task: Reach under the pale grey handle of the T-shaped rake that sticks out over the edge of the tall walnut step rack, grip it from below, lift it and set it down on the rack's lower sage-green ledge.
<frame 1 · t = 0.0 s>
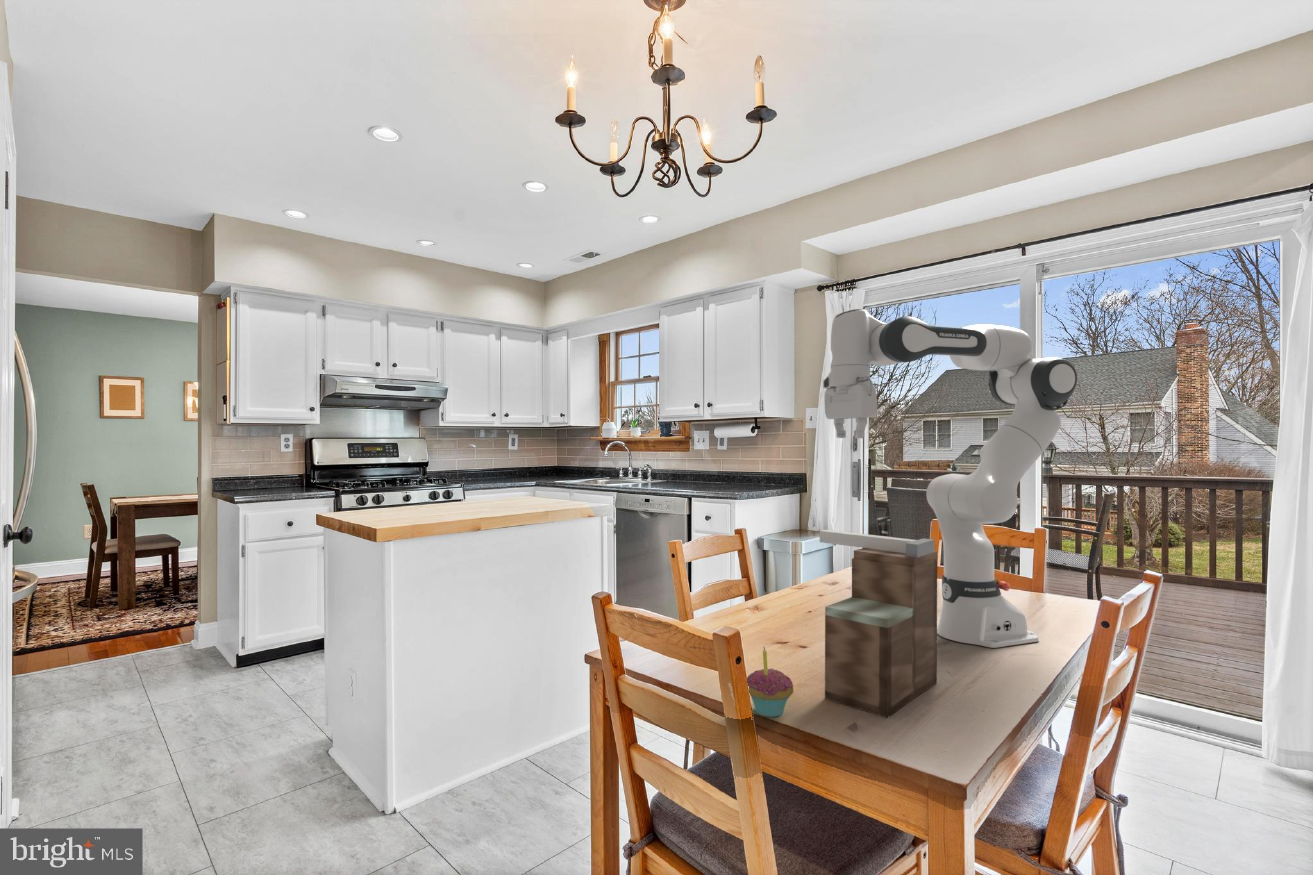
hand: (849, 438, 155), 48 cm above the table, tool pointing down, fingers open, 8 cm apart
step rack: (882, 690, 126), on the table
cupcake: (768, 712, 117), on the table
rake: (866, 547, 134), point 26 cm above the table, touching step rack
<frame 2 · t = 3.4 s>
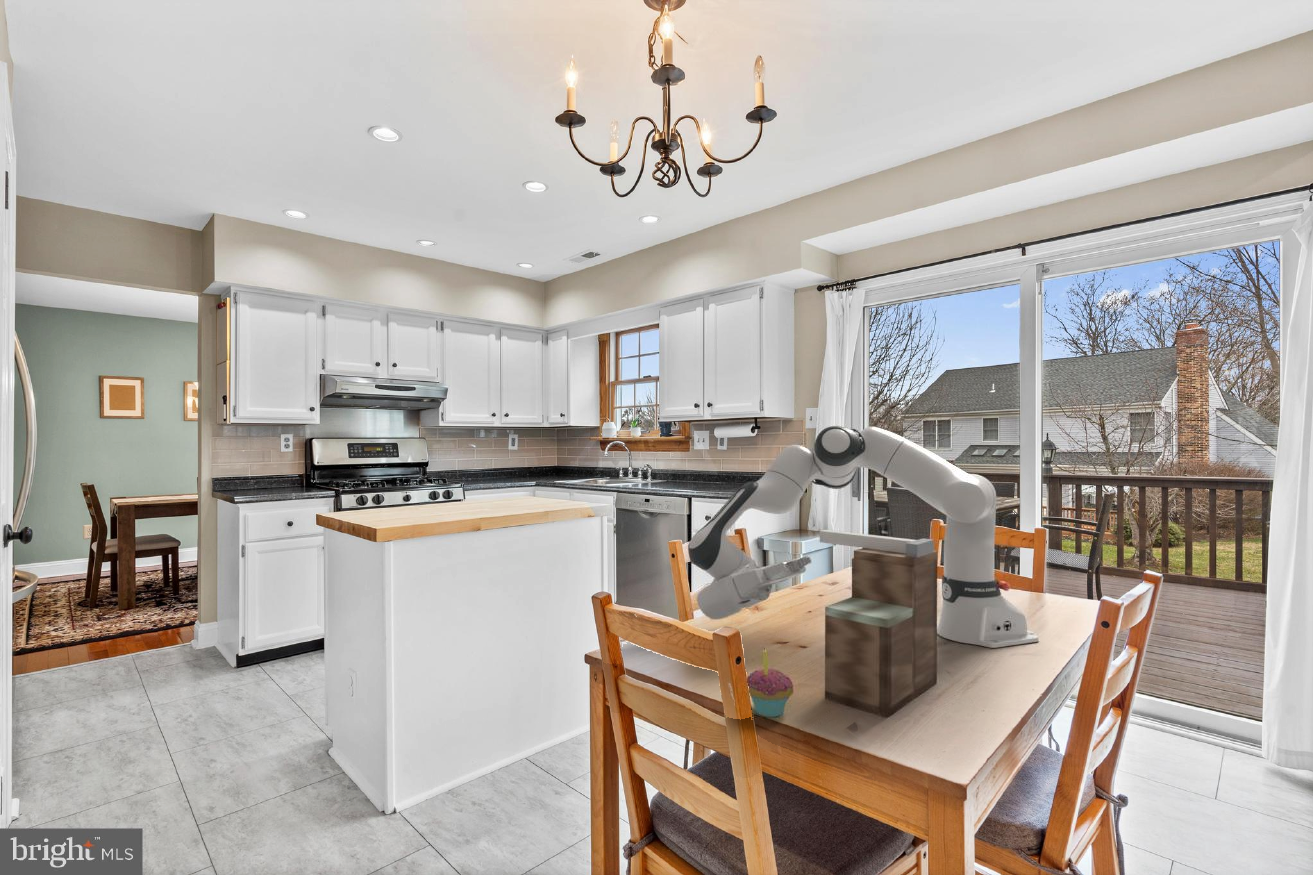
hand: (797, 562, 145), 21 cm above the table, tool pointing upward, fingers open, 8 cm apart
nothing on the table moved.
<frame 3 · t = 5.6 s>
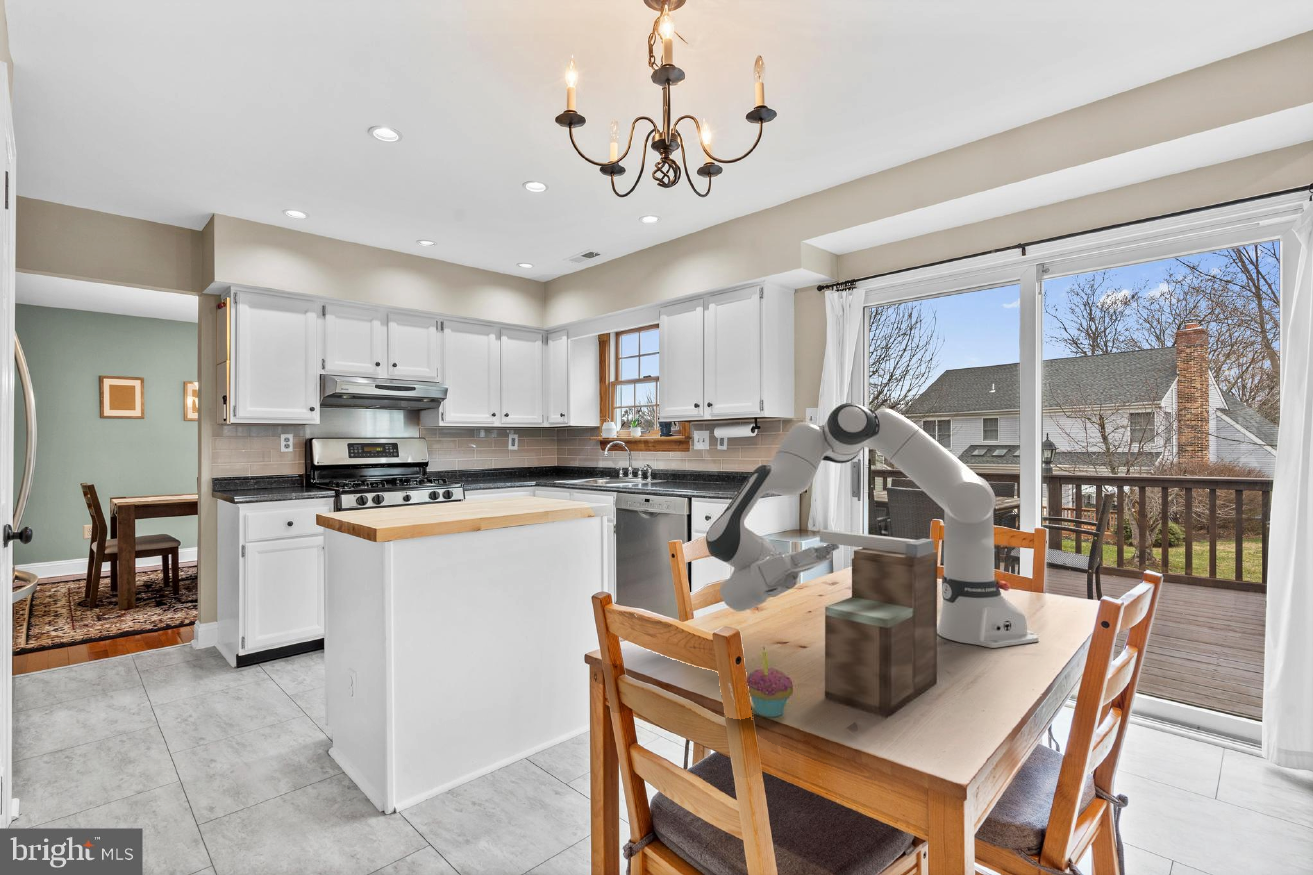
hand: (825, 547, 140), 25 cm above the table, tool pointing upward, fingers open, 8 cm apart
nothing on the table moved.
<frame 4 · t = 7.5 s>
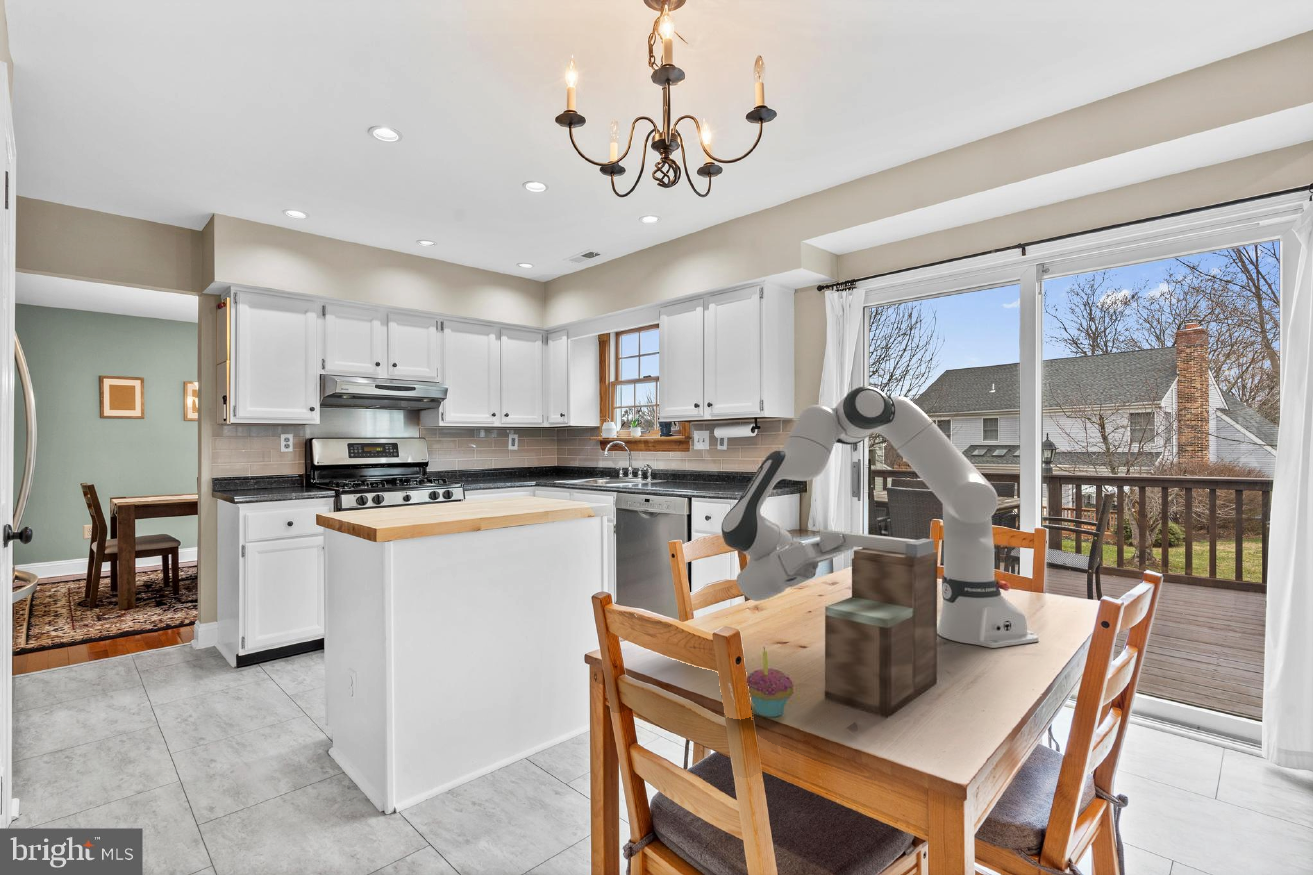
hand: (847, 536, 137), 28 cm above the table, tool pointing upward, fingers closed on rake, 2 cm apart
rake: (866, 547, 134), point 26 cm above the table, touching gripper, step rack
everything else where it was.
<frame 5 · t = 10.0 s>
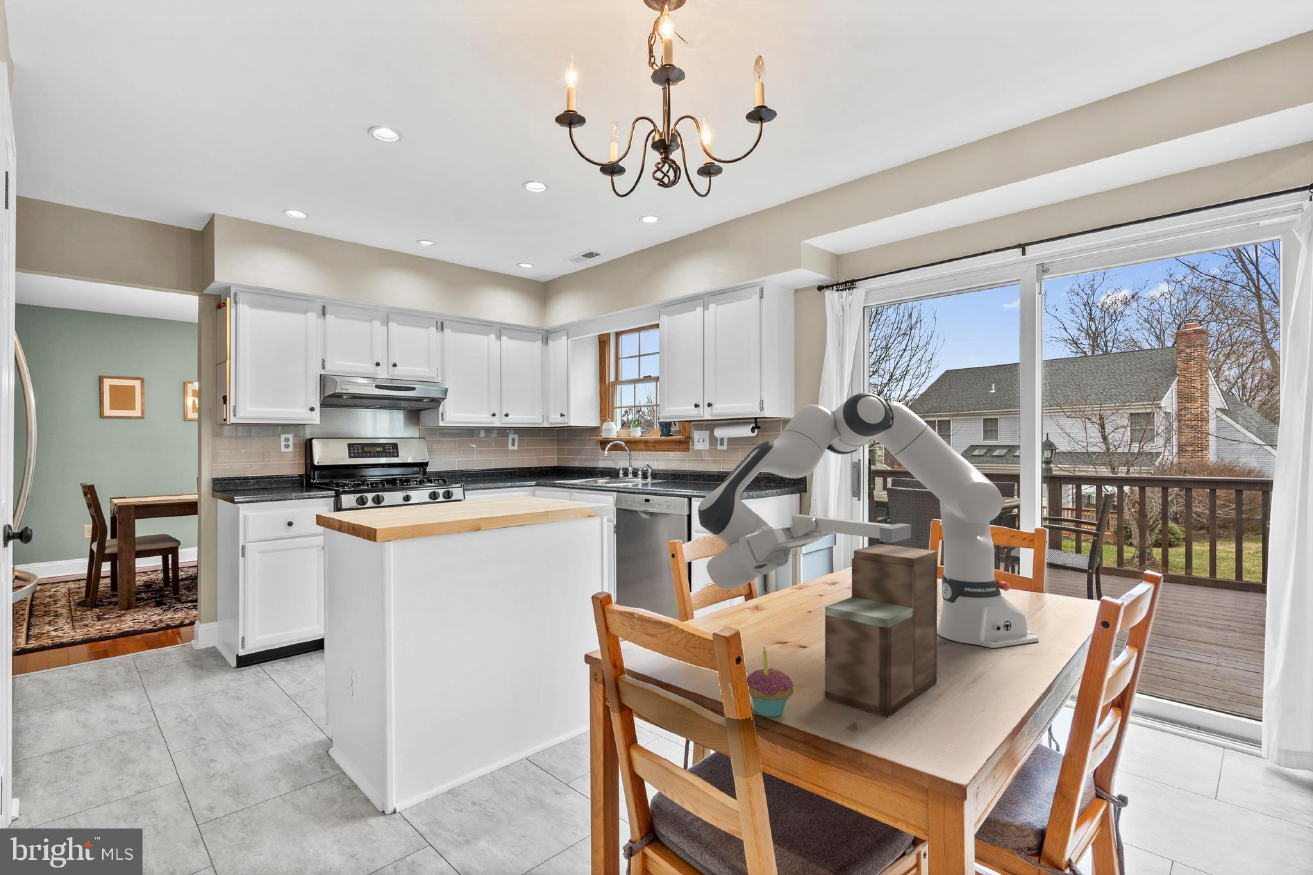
hand: (820, 521, 129), 32 cm above the table, tool pointing upward, fingers closed on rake, 2 cm apart
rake: (840, 532, 126), point 30 cm above the table, touching gripper
everything else where it was.
when the fingers open (20 cm above the table, at t = 12.6 s): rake drops 1 cm, resting on step rack.
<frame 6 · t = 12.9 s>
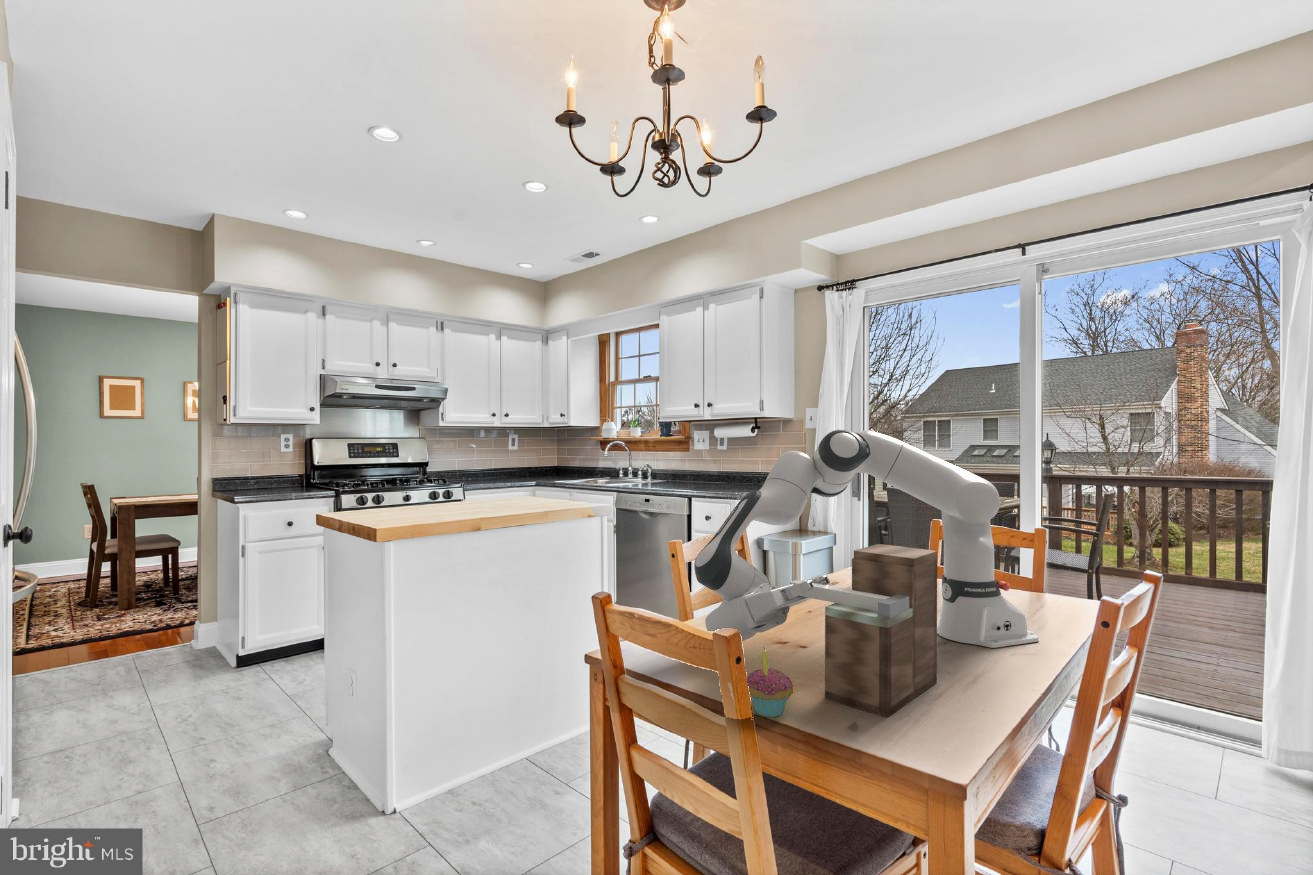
hand: (818, 581, 129), 20 cm above the table, tool pointing upward, fingers open, 5 cm apart
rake: (838, 601, 126), point 17 cm above the table, touching step rack
everything else where it was.
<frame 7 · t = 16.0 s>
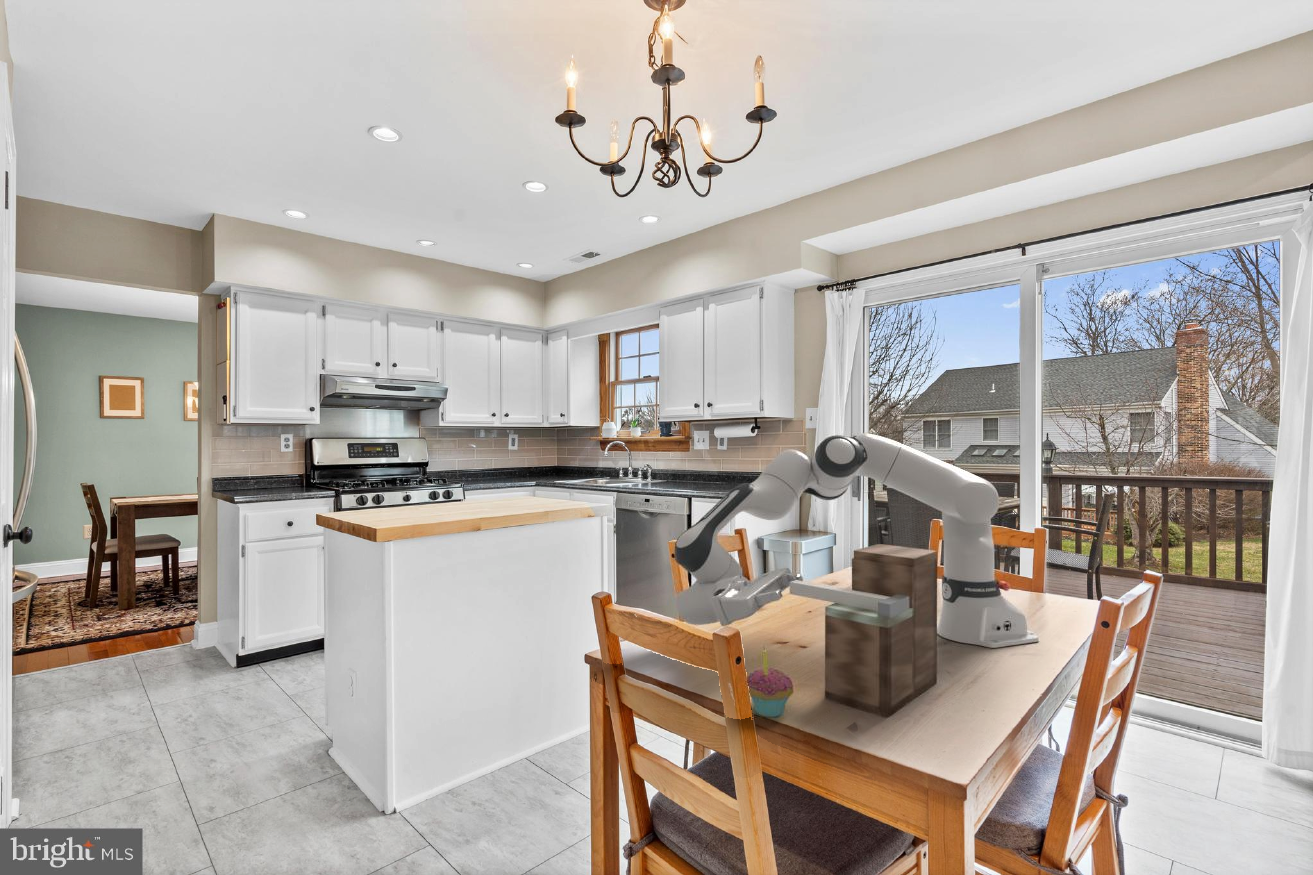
hand: (790, 586, 134), 18 cm above the table, tool pointing upward, fingers open, 8 cm apart
nothing on the table moved.
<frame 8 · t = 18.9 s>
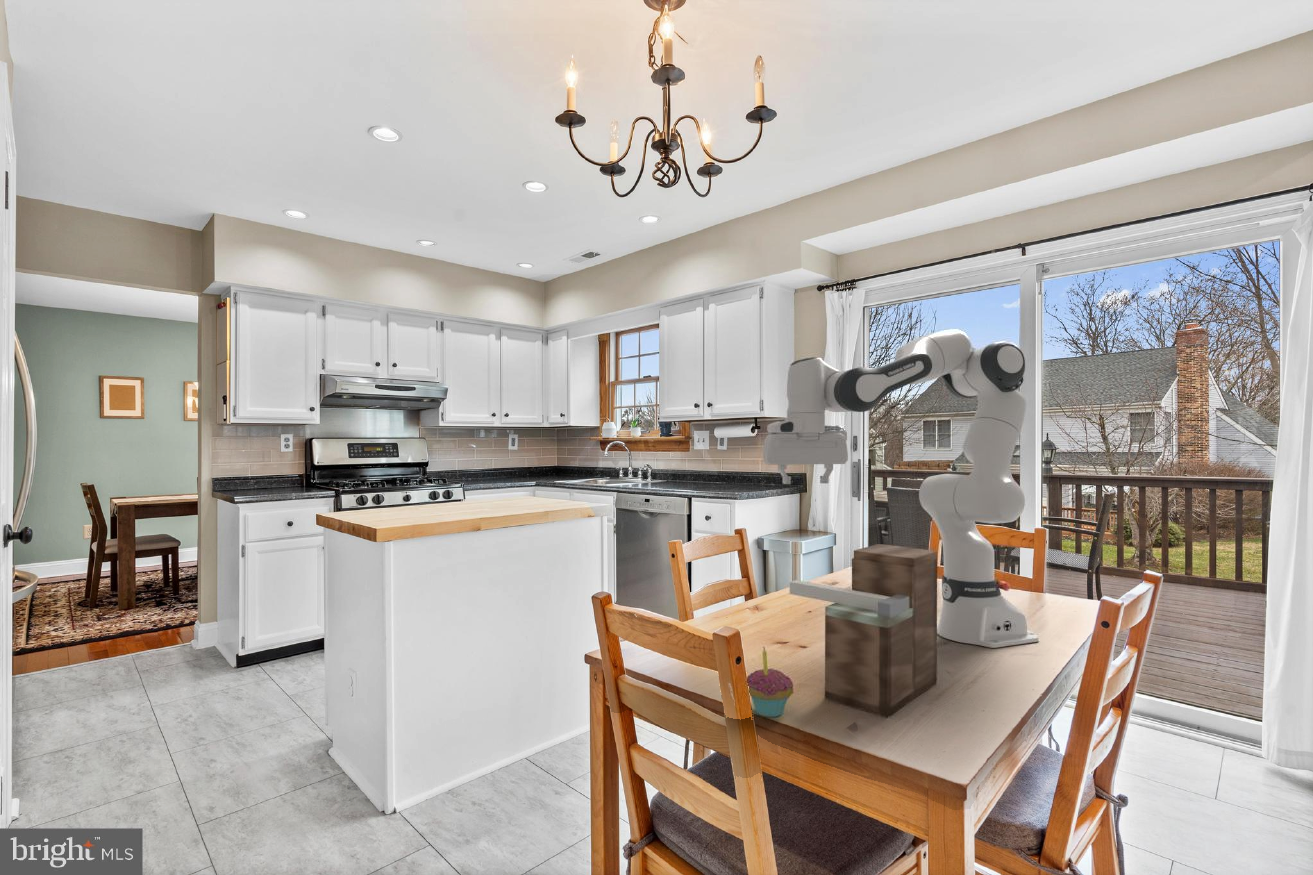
hand: (805, 483, 157), 37 cm above the table, tool pointing down, fingers open, 8 cm apart
nothing on the table moved.
at the end: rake inside the target area on the step rack (0.5 cm from its centre), point 17.0 cm above the step rack's base; the gripper is holding nothing; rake tilted 0° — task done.
